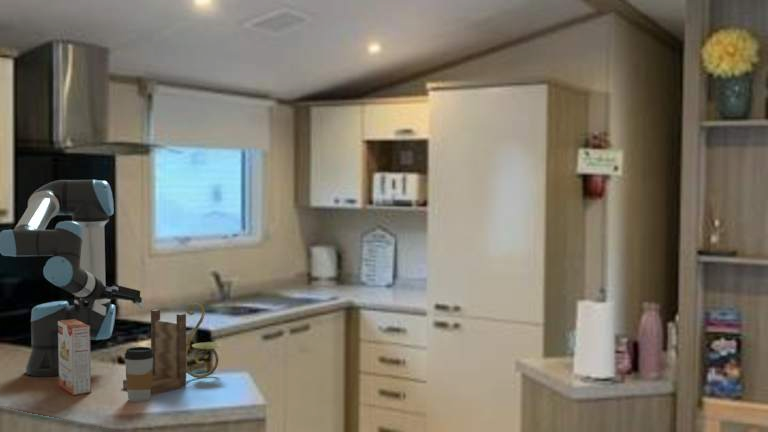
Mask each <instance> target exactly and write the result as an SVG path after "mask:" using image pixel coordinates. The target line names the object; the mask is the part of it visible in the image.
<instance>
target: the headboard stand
mask: <svg viewBox="0 0 768 432" xmlns="http://www.w3.org/2000/svg"><path fill="white" fill-rule="evenodd" d="M186 344H187V314H186V313H178V314H176V321H172V320H168V319H167V320H166V319H161V310H160V309H151V310H150V348H152V352H153V355H154V357H153V364H152V368H153V369H152V385H151V396H154V395H158V394H162V393H165V392H170V391H174V390H177V389H181V388H185V387H187V372H186ZM126 388H127V381H126V378H125V379H122V389H126Z"/></svg>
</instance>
